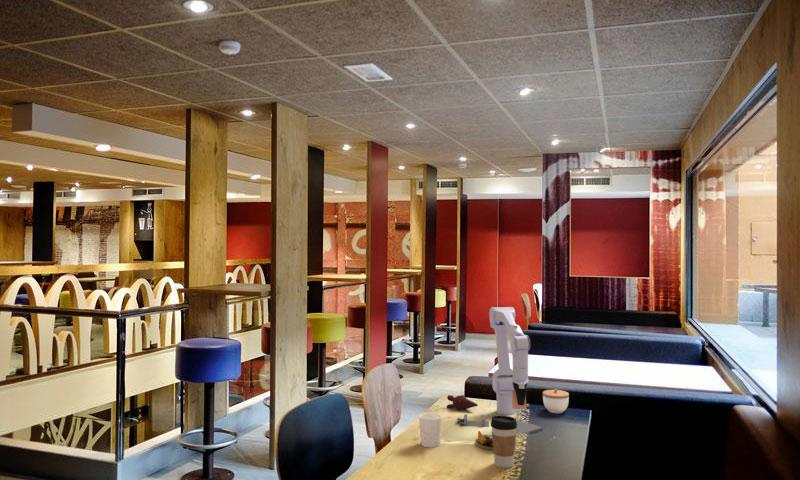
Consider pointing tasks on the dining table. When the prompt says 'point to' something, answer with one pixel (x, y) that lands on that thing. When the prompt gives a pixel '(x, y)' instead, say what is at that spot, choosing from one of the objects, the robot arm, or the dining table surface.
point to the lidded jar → (555, 400)
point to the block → (515, 403)
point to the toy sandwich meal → (484, 441)
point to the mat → (527, 427)
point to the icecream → (460, 402)
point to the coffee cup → (503, 440)
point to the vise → (473, 422)
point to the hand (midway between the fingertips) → (520, 403)
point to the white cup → (430, 429)
